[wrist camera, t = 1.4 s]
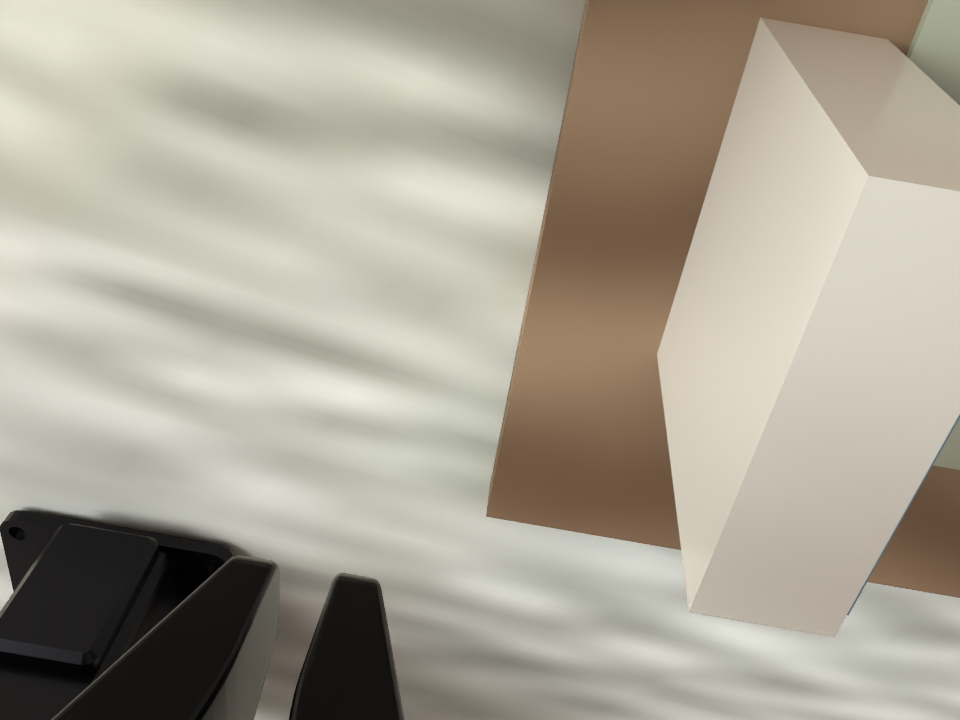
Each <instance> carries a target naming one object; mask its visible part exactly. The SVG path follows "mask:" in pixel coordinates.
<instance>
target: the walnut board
mask: <svg viewBox="0 0 960 720" xmlns="http://www.w3.org/2000/svg"><path fill="white" fill-rule="evenodd" d="M760 17H761V18H766V19H772V20H778V21H784V22H790V23H795V24H801V25H807V26H813V27H819V28H825V29H830V30H836V31H842V32H848V33H854V34H860V35H865V36H871V37H877V38H883V39H888V40H889V41H890V42H891V43H892V44H893V45H895V46H896V47H897V48H898V49H899V50H900V51H901V52H902V53H903V54H904V55H905V56H906V57H908V58H909V59H910V60H911V61H912V62H913V63H914V64H915V65H916V66H917V67H918V68H919V69H921V70H922V71H923V72H924V73H925V74H926V75H927V76H928V77H929V78H930V79H931V80H933V81H934V82H935V83H936V84H937V85H938V86H939V87H940V88H941V89H942V90H943V91H944V92H946V93H947V94H948V95H949V96H950V97H951V98H952V99H953V100H954V101H955V102H956V103H957V104H959V105H960V0H586V5H585V10H584V15H583V20H582V25H581V30H580V35H579V40H578V45H577V50H576V55H575V60H574V65H573V70H572V75H571V81H570V86H569V91H568V96H567V101H566V106H565V111H564V116H563V121H562V126H561V131H560V136H559V141H558V146H557V151H556V156H555V161H554V166H553V171H552V176H551V181H550V186H549V191H548V196H547V201H546V206H545V211H544V216H543V221H542V226H541V232H540V237H539V242H538V247H537V252H536V257H535V262H534V267H533V272H532V277H531V282H530V287H529V292H528V297H527V302H526V307H525V312H524V317H523V322H522V327H521V332H520V337H519V342H518V347H517V352H516V357H515V362H514V367H513V372H512V377H511V383H510V388H509V393H508V398H507V403H506V408H505V413H504V418H503V423H502V428H501V433H500V438H499V443H498V448H497V453H496V458H495V463H494V468H493V473H492V478H491V483H490V490H489V498H488V506H487V514H486V517H492V518H498V519H504V520H510V521H516V522H521V523H527V524H533V525H539V526H545V527H551V528H556V529H562V530H568V531H574V532H580V533H586V534H591V535H597V536H603V537H609V538H615V539H621V540H626V541H632V542H638V543H644V544H650V545H656V546H661V547H667V548H673V549H679V550H681V544H680V536H679V528H678V520H677V512H676V504H675V496H674V488H673V480H672V471H671V463H670V455H669V447H668V439H667V431H666V423H665V415H664V407H663V399H662V391H661V383H660V375H659V367H658V359H657V353H658V350H659V347H660V343H661V340H662V337H663V334H664V330H665V327H666V324H667V321H668V317H669V314H670V311H671V307H672V304H673V301H674V298H675V294H676V291H677V288H678V285H679V281H680V278H681V275H682V272H683V268H684V265H685V262H686V258H687V255H688V252H689V249H690V245H691V242H692V239H693V236H694V232H695V229H696V226H697V223H698V219H699V216H700V213H701V210H702V206H703V203H704V200H705V196H706V193H707V190H708V187H709V183H710V180H711V177H712V174H713V170H714V167H715V164H716V161H717V157H718V154H719V151H720V147H721V144H722V141H723V138H724V134H725V131H726V128H727V125H728V121H729V118H730V115H731V112H732V108H733V105H734V102H735V99H736V95H737V92H738V89H739V85H740V82H741V79H742V76H743V72H744V69H745V66H746V63H747V59H748V56H749V53H750V50H751V46H752V43H753V40H754V37H755V33H756V30H757V27H758V23H759V20H760ZM867 582H871V583H877V584H883V585H889V586H894V587H900V588H906V589H912V590H918V591H924V592H929V593H935V594H941V595H947V596H953V597H959V598H960V418H959V420H958V422H957V423H956V425H955V427H954V429H953V431H952V432H951V434H950V436H949V438H948V439H947V441H946V443H945V445H944V446H943V448H942V450H941V452H940V454H939V455H938V457H937V459H936V461H935V462H934V464H933V466H932V468H931V469H930V471H929V473H928V475H927V477H926V478H925V480H924V482H923V484H922V485H921V487H920V489H919V491H918V493H917V494H916V496H915V498H914V500H913V501H912V503H911V505H910V507H909V508H908V510H907V512H906V514H905V516H904V517H903V519H902V521H901V523H900V524H899V526H898V528H897V530H896V531H895V533H894V535H893V537H892V539H891V540H890V542H889V544H888V546H887V547H886V549H885V551H884V553H883V554H882V556H881V558H880V560H879V562H878V563H877V565H876V567H875V569H874V570H873V572H872V574H871V576H870V578H869V579H868V581H867Z"/></svg>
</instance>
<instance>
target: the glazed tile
mask: <svg viewBox="0 0 960 720" xmlns="http://www.w3.org/2000/svg"><path fill="white" fill-rule="evenodd" d="M657 359H658V367H659V375H660V383H661V391H662V399H663V407H664V415H665V423H666V431H667V439H668V447H669V455H670V463H671V471H672V480H673V488H674V496H675V504H676V512H677V520H678V528H679V536H680V544H681V552H682V560H683V568H684V576H685V584H686V592H687V600H688V609H689V612H691V613H697V614H702V615H708V616H714V617H720V618H726V619H732V620H737V621H743V622H749V623H755V624H761V625H767V626H772V627H778V628H784V629H790V630H796V631H801V632H807V633H813V634H819V635H825V636H831V637H835V635H836V633H837V631H838V630H839V628H840V626H841V624H842V622H843V621H844V619H845V617H846V615H849V613H850V611H851V609H852V608H853V606H854V604H855V602H856V601H857V599H858V597H859V595H860V593H861V592H862V590H863V588H864V586H865V585H866V583H867V581H868V579H869V578H870V576H871V574H872V572H873V570H874V569H875V567H876V565H877V563H878V562H879V560H880V558H881V556H882V554H883V553H884V551H885V549H886V547H887V546H888V544H889V542H890V540H891V539H892V537H893V535H894V533H895V531H896V530H897V528H898V526H899V524H900V523H901V521H902V519H903V517H904V516H905V514H906V512H907V510H908V508H909V507H910V505H911V503H912V501H913V500H914V498H915V496H916V494H917V493H918V491H919V489H920V487H921V485H922V484H923V482H924V480H925V478H926V477H927V475H928V473H929V471H930V469H931V468H932V466H933V464H934V462H935V461H936V459H937V457H938V455H939V454H940V452H941V450H942V448H943V446H944V445H945V443H946V441H947V439H948V438H949V436H950V434H951V432H952V431H953V429H954V427H955V425H956V423H957V422H958V420H959V418H960V105H959V104H957V103H956V102H955V101H954V100H953V99H952V98H951V97H950V96H949V95H948V94H947V93H946V92H944V91H943V90H942V89H941V88H940V87H939V86H938V85H937V84H936V83H935V82H934V81H933V80H931V79H930V78H929V77H928V76H927V75H926V74H925V73H924V72H923V71H922V70H921V69H919V68H918V67H917V66H916V65H915V64H914V63H913V62H912V61H911V60H910V59H909V58H908V57H906V56H905V55H904V54H903V53H902V52H901V51H900V50H899V49H898V48H897V47H896V46H895V45H893V44H892V43H891V42H890V41H889V40H888V39H883V38H877V37H871V36H865V35H860V34H854V33H848V32H842V31H836V30H830V29H825V28H819V27H813V26H807V25H801V24H795V23H790V22H784V21H778V20H772V19H766V18H761V17H760V20H759V23H758V27H757V30H756V33H755V37H754V40H753V43H752V46H751V50H750V53H749V56H748V59H747V63H746V66H745V69H744V72H743V76H742V79H741V82H740V85H739V89H738V92H737V95H736V99H735V102H734V105H733V108H732V112H731V115H730V118H729V121H728V125H727V128H726V131H725V134H724V138H723V141H722V144H721V147H720V151H719V154H718V157H717V161H716V164H715V167H714V170H713V174H712V177H711V180H710V183H709V187H708V190H707V193H706V196H705V200H704V203H703V206H702V210H701V213H700V216H699V219H698V223H697V226H696V229H695V232H694V236H693V239H692V242H691V245H690V249H689V252H688V255H687V258H686V262H685V265H684V268H683V272H682V275H681V278H680V281H679V285H678V288H677V291H676V294H675V298H674V301H673V304H672V307H671V311H670V314H669V317H668V321H667V324H666V327H665V330H664V334H663V337H662V340H661V343H660V347H659V350H658V353H657Z"/></svg>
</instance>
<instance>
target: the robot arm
mask: <svg viewBox="0 0 960 720" xmlns="http://www.w3.org/2000/svg"><path fill="white" fill-rule="evenodd" d="M0 533H1V537H2V542H3V546H4V550H5V555H6V559H7V564H8V568H9V573H10V577H11V581H12V586H13V590H14V593H13V594H12V595H11V597H10V598H9V600H8V601H7V603H6V604H5V606H4V607H3V609H2V610H1V612H0V720H254V717H255V713H256V709H257V706H258V702H259V699H260V695H261V691H262V688H263V684H264V680H265V677H266V673H267V670H268V666H269V662H270V659H271V655H272V651H273V648H274V644H275V640H276V635H277V629H278V620H279V581H280V571H279V567H278V565H277V564H276V563H275V562H273V561H270V560H265V559H259V558H253V557H247V556H235V557H233V556H232V554H231V553H230V551H229V550H228V549H226V548H225V547H223V546H221V545H218V544H214V543H208V542H202V541H197V540H191V539H185V538H179V537H173V536H167V535H162V534H156V533H150V532H144V531H138V530H132V529H127V528H121V527H115V526H109V525H103V524H97V523H92V522H86V521H80V520H74V519H68V518H62V517H57V516H51V515H45V514H39V513H33V512H27V511H18V510H16V511H13V512H10V514H9V515H8V516H7V517H6V519H5V520H4V521H3V523H2V524H1V525H0ZM211 560H212V561H211ZM214 561H215V562H214ZM289 720H404V716H403V710H402V704H401V698H400V693H399V687H398V681H397V676H396V670H395V664H394V659H393V653H392V647H391V642H390V636H389V630H388V624H387V619H386V613H385V607H384V602H383V596H382V590H381V586H380V584H379V582H378V581H377V580H376V579H374V578H369V577H363V576H358V575H352V574H346V573H340V574H338V575H336V576H335V578H334V579H333V581H332V584H331V587H330V590H329V592H328V595H327V598H326V601H325V604H324V607H323V610H322V612H321V615H320V618H319V621H318V624H317V627H316V630H315V632H314V635H313V638H312V641H311V644H310V647H309V649H308V652H307V655H306V658H305V661H304V664H303V667H302V669H301V672H300V676H299V679H298V682H297V686H296V689H295V692H294V697H293V702H292V707H291V711H290V717H289Z"/></svg>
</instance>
